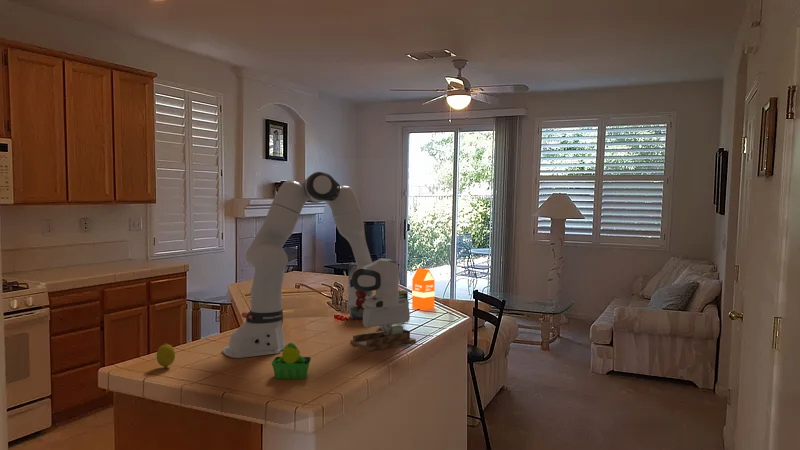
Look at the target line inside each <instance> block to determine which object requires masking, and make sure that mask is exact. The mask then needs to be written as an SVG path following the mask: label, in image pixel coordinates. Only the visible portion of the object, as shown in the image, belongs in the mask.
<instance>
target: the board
mask: <svg viewBox="0 0 800 450" xmlns="http://www.w3.org/2000/svg"><path fill="white" fill-rule="evenodd" d="M351 343H352V345H355V346H356V347H359V348H362V349H364V350H366V351H370V352H373V351H379V350H384V349H389V348H394V347H398V346H404V345H405V346H406V345H409V344H414V343H415V344H416V343H417V339H416V338H413V337H411V331H410V330H407V329H404V328H403V333H400V334H395V335H389V336H384V330H380V331H374V332H365V333H359V334H354V335H353V334H352V339H350V344H351Z"/></svg>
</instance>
